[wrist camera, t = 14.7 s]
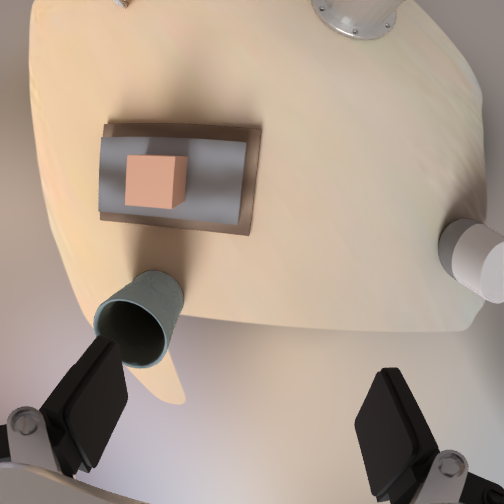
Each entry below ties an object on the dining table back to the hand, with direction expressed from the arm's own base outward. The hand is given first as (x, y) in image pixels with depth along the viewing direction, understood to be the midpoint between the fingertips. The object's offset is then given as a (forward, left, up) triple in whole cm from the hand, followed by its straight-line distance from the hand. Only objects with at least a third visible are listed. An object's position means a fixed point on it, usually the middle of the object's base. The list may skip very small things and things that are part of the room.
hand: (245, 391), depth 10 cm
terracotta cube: (-4, -12, -28) cm, 31 cm away
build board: (-4, -12, -32) cm, 35 cm away
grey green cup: (+14, -14, -32) cm, 38 cm away
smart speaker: (0, +32, -32) cm, 45 cm away
